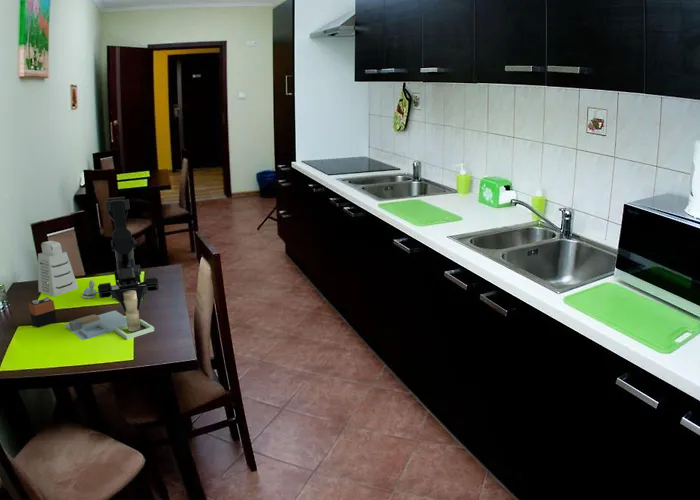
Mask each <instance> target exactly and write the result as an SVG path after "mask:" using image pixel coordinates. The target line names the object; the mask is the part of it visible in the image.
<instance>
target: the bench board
mask: <svg viewBox="0 0 700 500" xmlns="http://www.w3.org/2000/svg"><path fill="white" fill-rule="evenodd" d="M124 324H127V319H126V315H123V314H122V313H120V312H118V311H117V310H116V309H115V310H111V311H108V312H105V313H101V314H98V315H97V314H96V313H94V314H90V315H87V316H82V317H79V318H77V319H74V320H73V319H72V320H70V321H69V322H68V323H65V324H63V326H64V327H65V328H67V329H68V330H69V331H71V332H72V333H73V334H74V335H75V336H77V337H78V338H79V339H80V340H82V341H85V340H90V339H92V338H95V337H99V336H103V335H105V334H108V333H111V332H115V329H114V327H117V326H120V325H124Z"/></svg>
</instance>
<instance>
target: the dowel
mask: <svg viewBox="0 0 700 500" xmlns="http://www.w3.org/2000/svg"><path fill="white" fill-rule="evenodd" d="M123 296H124V305H125V310H126V312H125V317H126V319H127V327H128V328H127V331H129V332H137V331H140V330H141V324H140V319H141V318H140V313H139V311H140V310H138V299H137V295H136V291H134V290H129V291H125V292H124V293H123Z"/></svg>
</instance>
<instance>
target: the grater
mask: <svg viewBox="0 0 700 500" xmlns="http://www.w3.org/2000/svg"><path fill="white" fill-rule="evenodd" d="M40 247H41V252H40V253H38V254H37V260H38V261H37V263H38V264H37V270H38V272H37V273H38V279H37V280H38V285H37V286H38V293H41V294H45V295H49V296H50V297H51V296H52V297H56V296H60V295H63V294H66V293H68V292H71V291H75V290H77V289H79V286H78V283H77V280H76V277H75V275H74V270H73V267H72V265H71V261H70V259H69V256H68V251H65V250H63V249H62V244H61V243H60V242H59V241H54V240H48V241H43V242H42V243H40ZM63 286H64V287H63Z"/></svg>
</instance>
